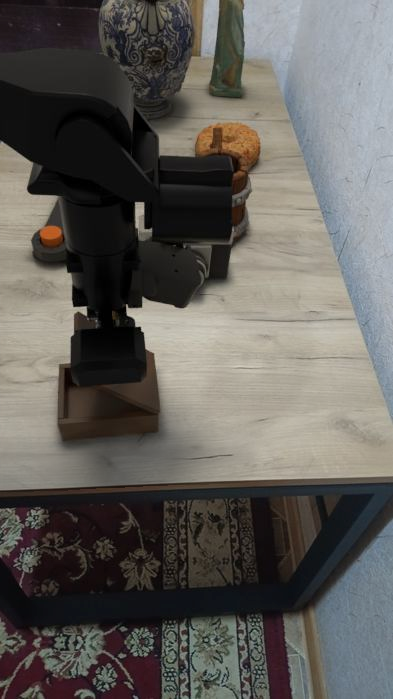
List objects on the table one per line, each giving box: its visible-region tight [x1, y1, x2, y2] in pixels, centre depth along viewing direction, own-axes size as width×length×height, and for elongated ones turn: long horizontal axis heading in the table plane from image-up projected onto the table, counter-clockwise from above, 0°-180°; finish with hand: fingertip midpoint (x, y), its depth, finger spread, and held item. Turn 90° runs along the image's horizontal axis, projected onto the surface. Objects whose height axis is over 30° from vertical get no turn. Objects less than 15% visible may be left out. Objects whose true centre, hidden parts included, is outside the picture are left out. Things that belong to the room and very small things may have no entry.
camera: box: [138, 214, 234, 289], centre depth 72 cm, size 14×9×10 cm, turn 88°
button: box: [40, 226, 63, 248], centre depth 75 cm, size 3×3×2 cm
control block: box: [30, 198, 66, 263], centre depth 80 cm, size 20×6×3 cm, turn 173°
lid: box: [73, 310, 162, 414], centre depth 54 cm, size 12×8×5 cm
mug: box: [194, 127, 253, 242], centre depth 80 cm, size 12×14×15 cm
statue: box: [209, 0, 246, 98], centre depth 104 cm, size 7×8×25 cm
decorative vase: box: [98, 0, 196, 120], centre depth 96 cm, size 21×19×28 cm
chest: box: [56, 362, 160, 442], centre depth 60 cm, size 11×8×4 cm
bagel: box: [194, 121, 262, 169], centre depth 96 cm, size 13×14×5 cm
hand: (111, 349), depth 52 cm, fingers closed on lid, 4 cm apart
